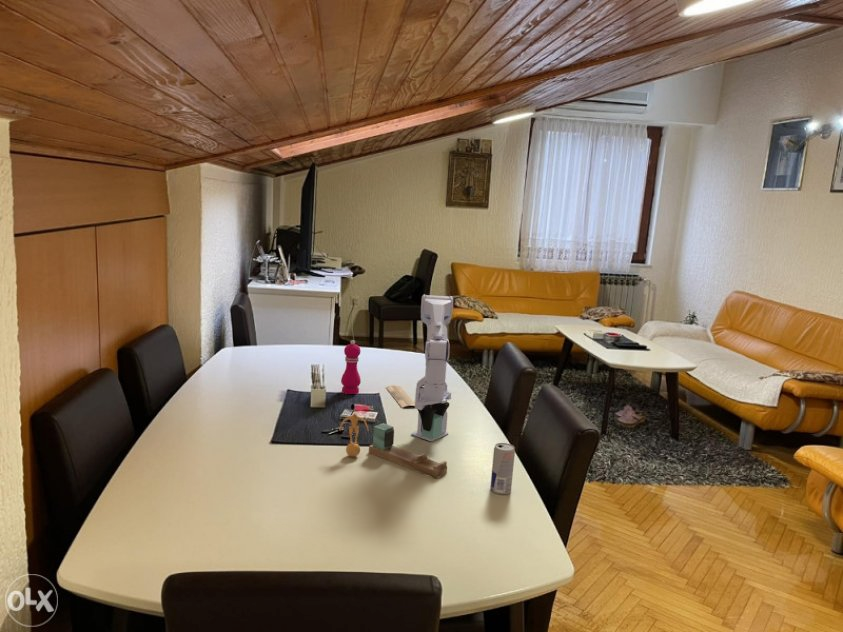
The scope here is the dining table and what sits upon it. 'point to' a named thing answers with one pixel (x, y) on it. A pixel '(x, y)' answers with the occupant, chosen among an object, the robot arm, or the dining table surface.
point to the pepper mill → (351, 369)
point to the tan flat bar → (400, 396)
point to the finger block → (433, 428)
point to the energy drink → (502, 468)
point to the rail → (403, 453)
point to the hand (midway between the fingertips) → (431, 428)
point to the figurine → (354, 448)
